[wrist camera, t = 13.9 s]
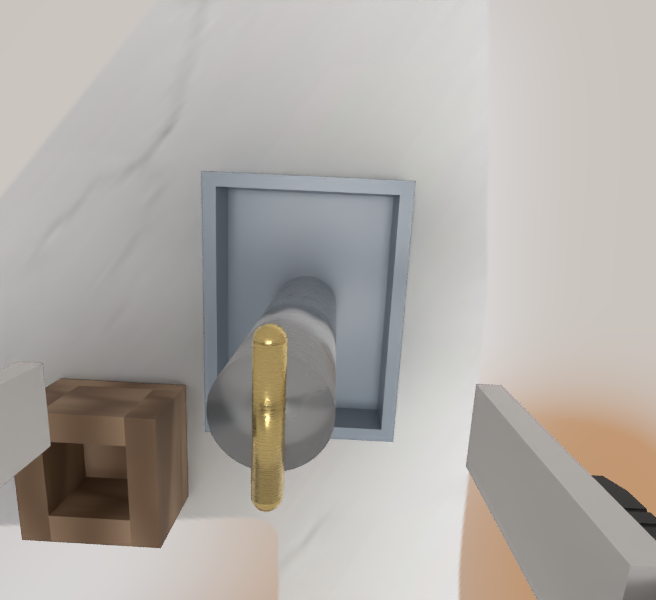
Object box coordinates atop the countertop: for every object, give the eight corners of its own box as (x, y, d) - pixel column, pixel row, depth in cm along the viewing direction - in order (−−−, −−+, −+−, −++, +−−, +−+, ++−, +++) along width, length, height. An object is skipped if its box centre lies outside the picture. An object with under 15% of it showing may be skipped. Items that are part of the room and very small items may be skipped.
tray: (220, 406, 30) (205, 431, 27) (218, 176, 27) (201, 171, 23) (386, 415, 30) (393, 442, 26) (405, 185, 27) (415, 180, 23)
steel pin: (275, 347, 28) (198, 515, 13) (277, 259, 27) (194, 324, 11) (334, 350, 28) (329, 522, 13) (338, 262, 27) (340, 331, 11)
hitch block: (70, 489, 32) (21, 539, 27) (60, 378, 30) (6, 410, 25) (188, 496, 32) (160, 547, 27) (185, 385, 30) (155, 418, 25)
